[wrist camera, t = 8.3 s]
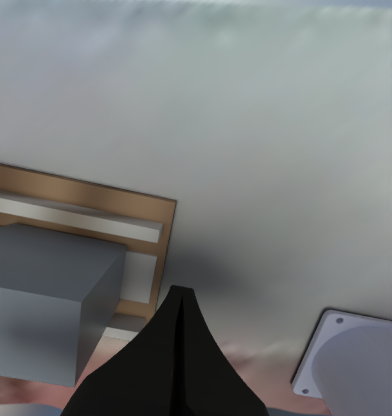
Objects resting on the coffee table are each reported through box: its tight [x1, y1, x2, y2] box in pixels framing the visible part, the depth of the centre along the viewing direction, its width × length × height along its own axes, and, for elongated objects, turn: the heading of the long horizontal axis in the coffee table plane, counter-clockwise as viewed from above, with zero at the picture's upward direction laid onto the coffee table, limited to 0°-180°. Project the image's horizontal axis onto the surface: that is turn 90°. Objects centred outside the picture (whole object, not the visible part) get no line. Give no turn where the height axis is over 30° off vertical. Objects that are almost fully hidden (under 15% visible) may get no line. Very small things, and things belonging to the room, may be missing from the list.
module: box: [0, 223, 127, 387], centre depth 10 cm, size 7×4×5 cm, turn 78°
